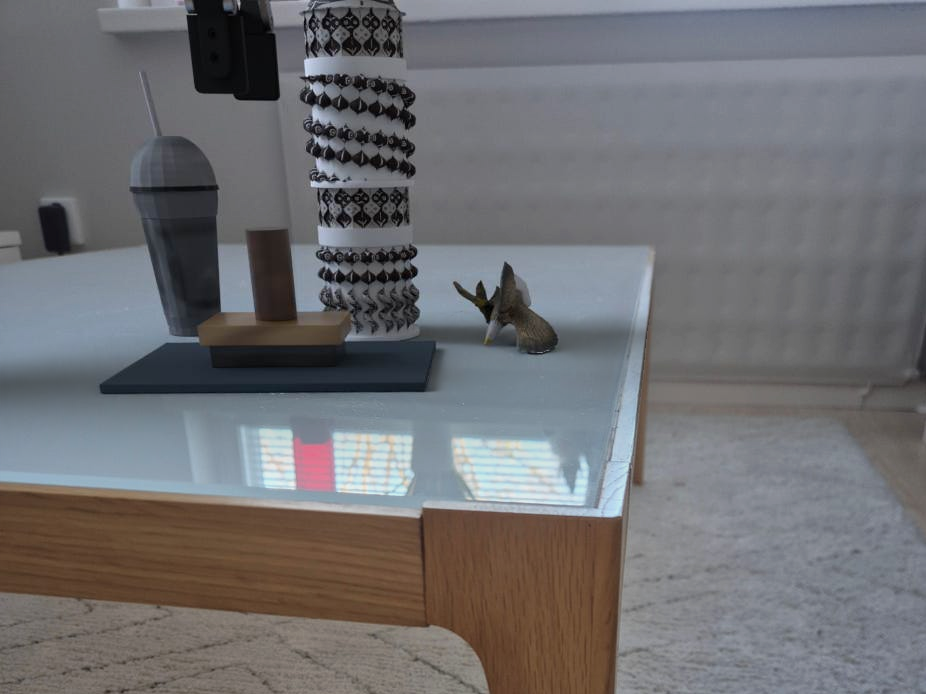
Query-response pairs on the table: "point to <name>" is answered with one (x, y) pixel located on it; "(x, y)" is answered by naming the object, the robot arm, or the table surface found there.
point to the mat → (278, 371)
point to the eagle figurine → (512, 312)
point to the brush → (274, 316)
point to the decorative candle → (362, 164)
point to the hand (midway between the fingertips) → (241, 97)
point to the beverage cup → (178, 224)
